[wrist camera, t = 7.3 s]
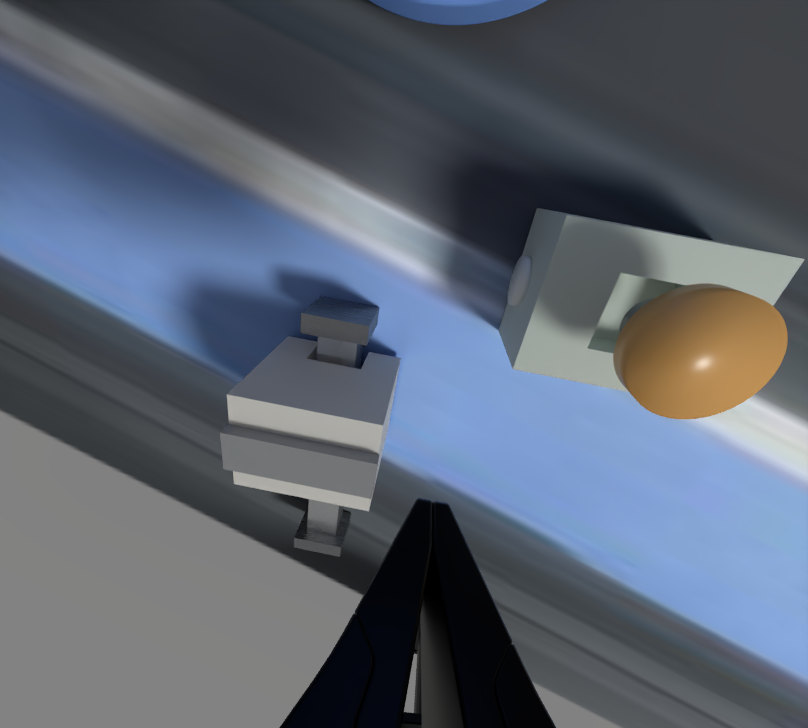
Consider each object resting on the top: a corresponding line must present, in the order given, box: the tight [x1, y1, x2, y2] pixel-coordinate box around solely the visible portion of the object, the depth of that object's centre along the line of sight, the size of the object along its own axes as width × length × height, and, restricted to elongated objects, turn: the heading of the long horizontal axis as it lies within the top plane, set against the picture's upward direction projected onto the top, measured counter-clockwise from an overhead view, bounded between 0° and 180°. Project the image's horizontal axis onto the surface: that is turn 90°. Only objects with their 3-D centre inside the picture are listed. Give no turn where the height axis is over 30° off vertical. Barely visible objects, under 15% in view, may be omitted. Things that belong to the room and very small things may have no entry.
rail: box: [294, 296, 379, 557], centre depth 21 cm, size 17×3×3 cm, turn 171°
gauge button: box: [613, 283, 787, 419], centre depth 11 cm, size 4×4×3 cm
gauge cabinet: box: [499, 208, 805, 392], centre depth 15 cm, size 6×8×4 cm
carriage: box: [220, 336, 401, 511], centre depth 18 cm, size 5×6×7 cm
